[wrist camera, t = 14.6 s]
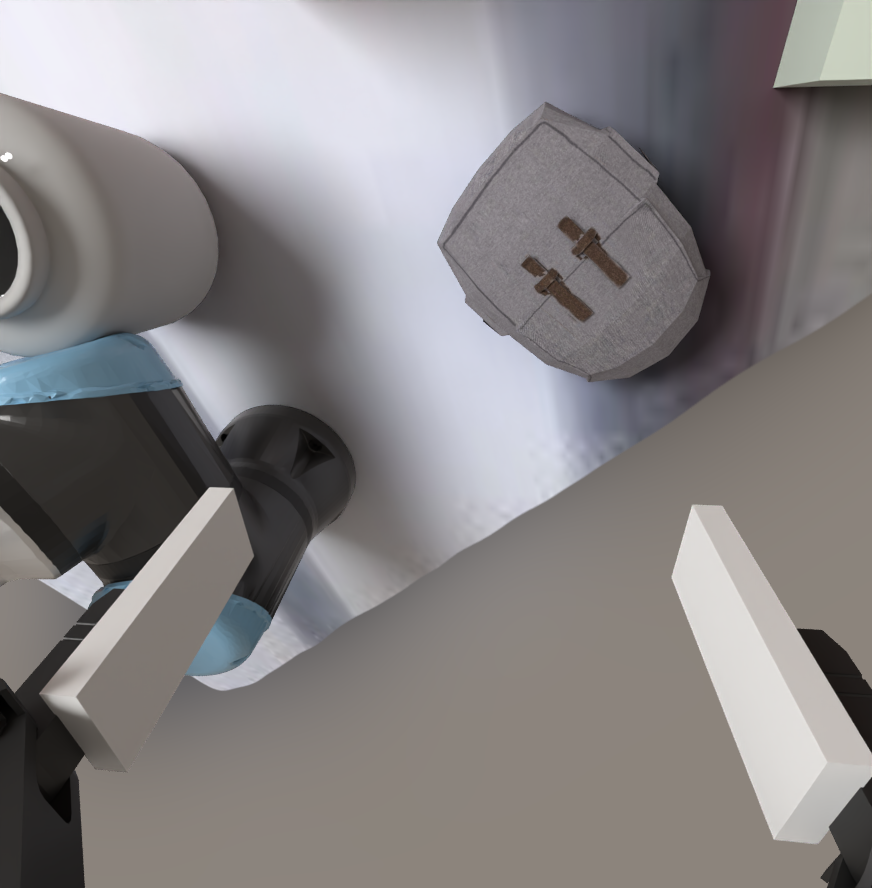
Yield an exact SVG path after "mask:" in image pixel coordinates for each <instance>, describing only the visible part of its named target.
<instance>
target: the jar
mask: <svg viewBox="0 0 872 888" xmlns="http://www.w3.org/2000/svg"><path fill="white" fill-rule="evenodd" d="M218 256H219V253H218V236H217V231H216V227H215V223H214V218H213V216H212V213H211V211H210V208H209V206H208V203H207V201H206V199H205V197H204V195H203V194H202V192H201V190H200V189H199V187H198V185H197V184H196V182H195V181H194V179H193V178H192V177H191V176H190V175H189V174H188V172H187V171H186V170H185V169H184V168H183V167H182V165H181V164H180V163H178V162H177V161H176V160H175V159H174V158H172V157H171V156H170V155H169V154H168V153H166V152H165V151H164V150H162V149H160V148H159V147H157V146H155V145H153V144H152V143H150V142H148V141H146V140H145V139H143V138H141V137H139V136H136V135H133V134H130V133H127V132H124V131H121V130H118V129H115V128H112V127H109V126H105V125H102V124H99V123H96V122H92V121H89V120H86V119H83V118H80V117H76V116H73V115H70V114H67V113H63V112H60V111H57V110H54V109H50V108H47V107H44V106H41V105H37V104H34V103H31V102H28V101H25V100H21V99H18V98H15V97H12V96H8V95H5V94H2V93H0V351H1V352H4V353H7V354H10V355H14V356H22V357H34V356H38V355H43V354H47V353H50V352H54V351H58V350H62V349H65V348H69V347H73V346H76V345H80V344H84V343H87V342H91V341H94V340H97V339H100V338H103V337H106V336H109V335H113V334H116V333H132V334H138V333H141V332H144V331H148V330H151V329H154V328H157V327H161V326H164V325H167V324H170V323H174V322H175V321H177V320H179V319H180V318H182V317H184V316H185V315H187V314H189V313H191V312H192V311H193V310H194V309H195V308H196V307H197V306H198V305H199V304H200V303H201V302H202V301H203V299H204V298H205V296H206V295H207V293H208V292H209V290H210V288H211V286H212V283H213V280H214V277H215V275H216V270H217V263H218Z"/></svg>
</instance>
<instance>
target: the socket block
mask: <svg viewBox="0 0 872 888" xmlns="http://www.w3.org/2000/svg"><path fill="white" fill-rule="evenodd" d="M860 85H872V0H798V1H797V5H796V8H795V12H794V15H793V19H792V23H791V26H790V30H789V33H788V37H787V41H786V44H785V48H784V51H783V55H782V59H781V62H780V66H779V69H778V73H777V77H776V80H775V84H774V87H773V88H784V87H822V86H860Z"/></svg>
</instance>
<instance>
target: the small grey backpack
mask: <svg viewBox="0 0 872 888" xmlns="http://www.w3.org/2000/svg"><path fill="white" fill-rule="evenodd" d="M639 149H640V148H639ZM640 150H641V149H640ZM641 152H642V153H643V155H644V157H645V158H646V160H647V161H648V162H647V161H646V160H645V159H644V158H643V157H642V156H641V155H640V154H639V153H638V152H637V151H636V150H635V149H634V148H633V147H632V146H631V145H630V144H629V143H628V142H627V141H626V140H625V139H624V138H622V137H621V136H620V135H619V134H618V133H617V132H616V131H615V130H614V129H612V128H611V127H607V128H604V129H601V130H599V129H597V128H595V127H593V126H591V125H589V124H587V123H585V122H583V121H581V120H579V119H578V118H576V117H574V116H572V115H570V114H568V113H566V112H564V111H562V110H560V109H558V108H556V107H554V106H553V105H551V104H549V103H547V102H545V103H544V104H542V105H541V106H540V107H539V108H538V109H537V110H535V111H534V112H533V113H532V114H531V115H530V116H528V117H527V118H526V119H525V120H524V121H522V122H521V123H520V124H519V125H518V126H517V127H515V128H514V129H513V130H512V131H511V132H510V133H509V134H508V135H507V137H506V138H505V139H504V140H503V141H502V142H501V144H500V145H499V146H498V147H497V148H496V149H495V151H494V152H493V153H492V154H491V155H490V156H489V158H488V159H487V160H486V161H485V162H484V163H483V165H482V166H481V167H480V168H479V169H478V171H477V172H476V174H475V175H474V177H473V178H472V180H471V181H470V183H469V184H468V186H467V187H466V189H465V190H464V192H463V193H462V195H461V196H460V198H459V199H458V201H457V202H456V204H455V205H454V207H453V208H452V211H451V213H450V215H449V217H448V219H447V221H446V224H445V226H444V228H443V230H442V232H441V235H440V237H439V239H438V241H437V244H438V246H439V248H440V250H441V251H442V253H443V255H444V257H445V259H446V260H447V262H448V264H449V266H450V267H451V269H452V271H453V273H454V275H455V276H456V278H457V280H458V282H459V283H460V285H461V287H462V289H463V291H464V292H465V294H466V298H465V303H466V304H467V305H469V306H470V307H471V308H472V309H473V310H474V311H475V312H476V313H477V314H478V315H479V316H480V317H481V318H482V319H483V322H485V323H486V324H487V325H488V326H489V327H491V328H492V329H493V330H494V331H496V332H497V333H498V334H499V335H501V336H506V335H510V336H511V337H512V338H514V339H515V340H516V341H518V342H519V343H520V344H521V345H523V346H524V347H525V348H526V349H528V350H529V351H530V352H531V353H533V354H534V355H535V356H536V357H538V358H539V359H540V360H542V361H543V362H544V363H545V364H547V365H550V366H553V367H556V368H559V369H561V370H564V371H567V372H570V373H573V374H576V375H578V376H581V377H584V378H586V380H587V382H594V381H603V380H611V379H620V378H629V377H631V376H633V375H635V374H637V373H638V372H640V371H642V370H644V369H646V368H647V367H649V366H651V365H653V364H655V363H656V362H658V361H660V360H662V359H664V358H665V357H667V356H669V354H670V353H671V352H672V351H673V350H674V348H675V347H676V346H677V345H678V344H679V342H680V341H681V340H682V339H683V338H684V337H685V335H686V334H687V333H688V332H689V331H690V329H691V328H692V327H693V326H694V325H695V323H696V322H697V321H698V318H699V315H700V311H701V307H702V304H703V300H704V296H705V293H706V289H707V285H708V282H709V278H710V270H708V269H705V267H704V264H703V261H702V258H701V255H700V252H699V249H698V246H697V243H696V240H695V237H694V234H693V231H692V228H691V226H690V225H689V224H688V223H687V222H686V220H685V219H684V218H683V217H682V215H681V214H680V213H679V212H678V210H677V209H676V208H675V207H674V205H673V204H672V203H671V202H670V200H669V199H668V198H667V197H666V195H665V194H664V193H663V192H662V190H661V189H660V188H659V187H658V185H657V181H658V177H659V172H658V171H657V169H656V168H655V167H654V165H653V164H652V163H651V162H650V160H649V159H648V158H647V156H646V155H645V154H644V152H643V151H642V150H641Z"/></svg>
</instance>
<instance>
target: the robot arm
mask: <svg viewBox="0 0 872 888" xmlns="http://www.w3.org/2000/svg"><path fill="white" fill-rule="evenodd" d="M182 386H183V384H182V382H181V381H180V380H179V379H176V378H175V376H174V375H173V374H172V372H171V371H170V369H169V368H168V367H167V365H166V364H165V362H164V361H163V360H162V358H161V357H160V355H159V354H158V352H157V351H156V350H155V348H154V347H153V346H152V344H151V343H149V342H148V341H147V340H146V339H144V338H143V337H141V336H138V335H136V334H132V333H116V334H113V335H109V336H106V337H103V338H100V339H97V340H94V341H91V342H87V343H84V344H80V345H76V346H73V347H69V348H65V349H62V350H58V351H54V352H50V353H47V354H43V355H38V356H34V357H24V358H21V359H17V360H14V361H10V362H7V363H4V364H0V587H1V586H2V585H4V584H5V583H7V582H9V581H13V580H18V579H57V578H58V577H60V576H61V575H63V574H64V573H66V572H67V571H69V570H70V569H71V568H73V567H74V566H76V565H77V564H78V563H80V562H81V561H84V562H85V563H86V564H87V565H88V566H89V567H90V568H91V569H92V571H93V572H94V573H95V574H96V575H97V576H98V578H99V579H100V580H101V581H102V582H103V585H104V587H101V588H100V589H99V590H98V591H96V592H95V593H94V595H93V596H92V602H91V603H90V605H89V607H88V610H87V611H86V612H85V613H84V614H83V615H82V617H81V618H80V619H79V620H78V621H77V624H76V626H73V627H72V628H71V629H70V630H69V631H68V633H67V634H66V635H65V636H64V639H63V641H60V642H59V643H58V644H57V645H56V646H55V647H54V649H53V650H52V651H51V652H50V653H49V654H48V656H47V657H46V658H45V659H44V660H43V661H42V663H41V664H40V665H39V666H38V667H37V668H36V669H35V671H34V672H33V673H32V674H31V675H30V676H29V677H28V679H27V680H26V681H25V682H24V683H23V684H22V686H21V687H20V688H19V689H18V690H17V691H16V692H15V693H14V692H13V691H12V690H11V689H10V687H9V686H8V685H7V683H6V682H5V681H4V680H3V679H1V678H0V888H85V883H84V865H83V848H82V831H81V813H80V796H79V780H78V777H77V774H76V771H75V768H76V767H77V765H78V763H79V762H80V761H81V759H82V758H83V756H84V755H85V756H86V758H87V759H88V760H89V762H90V763H91V764H92V766H93V767H94V768H95V769H98V770H108V771H117V772H128V771H129V769H130V767H131V766H132V764H133V762H134V761H135V759H136V757H137V756H138V754H139V752H140V750H141V748H142V747H143V745H144V743H145V741H146V740H147V738H148V737H149V735H150V733H151V732H152V730H153V728H154V726H155V725H156V723H157V721H158V720H159V718H160V716H161V714H162V713H163V711H164V709H165V708H166V706H167V704H168V702H169V701H170V699H171V697H172V695H173V694H174V692H175V690H176V689H177V687H178V685H179V684H180V682H181V680H182V678H183V677H184V675H189V676H208V675H216V674H221V673H224V672H227V671H230V670H232V669H234V668H236V667H238V666H239V665H241V664H242V663H243V662H244V661H245V660H246V659H247V658H248V657H249V656H250V655H251V653H252V651H253V650H254V648H255V646H256V645H257V643H258V641H259V640H260V638H261V636H262V635H263V633H264V632H265V631H266V630H267V629H268V628H269V626H270V624H271V621H272V619H273V617H274V615H275V613H276V610H277V608H278V606H279V604H280V602H281V600H282V598H283V596H284V594H285V592H286V590H287V588H288V586H289V583H290V581H291V579H292V577H293V575H294V573H295V571H296V569H297V567H298V565H299V563H300V561H301V559H302V556H303V554H304V552H305V550H306V548H307V546H308V544H309V543H310V541H311V540H312V539H313V538H314V537H315V536H316V535H318V534H319V533H320V532H321V531H322V530H323V529H324V528H325V527H326V526H328V525H329V524H331V523H332V522H333V521H335V520H336V519H337V518H338V517H339V516H340V515H341V514H342V512H343V511H344V509H345V508H346V506H347V504H348V502H349V500H350V497H351V495H352V493H353V490H354V487H355V478H356V475H355V467H354V463H353V460H352V457H351V455H350V453H349V451H348V449H347V447H346V446H345V444H344V443H343V441H342V440H341V439H340V438H339V436H338V435H337V434H336V433H335V432H334V431H333V430H332V429H331V428H329V427H328V426H327V425H326V424H324V423H323V422H322V421H320V420H319V419H317V418H315V417H314V416H312V415H310V414H308V413H305V412H303V411H300V410H298V409H294V408H291V407H286V406H279V405H264V406H258V407H254V408H251V409H248V410H246V411H244V412H242V413H240V414H239V415H238V416H236V417H235V418H234V419H233V420H232V421H231V422H230V423H229V424H228V425H227V426H226V427H225V428H224V429H223V430H222V432H221V433H220V434H219V436H218V438H217V440H216V442H215V440H214V439H213V437H212V435H211V434H210V432H209V431H208V429H207V428H206V426H205V424H204V423H203V421H202V419H201V418H200V416H199V414H198V413H197V411H196V409H195V408H194V406H193V405H192V403H191V401H190V400H189V398H188V396H187V395H186V393H185V391H184V390H183V388H182ZM672 580H673V583H674V585H675V588H676V590H677V593H678V595H679V598H680V601H681V603H682V606H683V608H684V611H685V613H686V616H687V618H688V621H689V624H690V626H691V629H692V631H693V634H694V636H695V639H696V642H697V644H698V646H699V649H700V652H701V654H702V657H703V660H704V662H705V665H706V667H707V670H708V672H709V675H710V677H711V680H712V683H713V685H714V688H715V690H716V693H717V695H718V698H719V701H720V703H721V706H722V708H723V711H724V713H725V716H726V718H727V721H728V723H729V726H730V728H731V731H732V734H733V736H734V739H735V741H736V744H737V746H738V749H739V752H740V754H741V757H742V759H743V762H744V764H745V767H746V770H747V772H748V775H749V777H750V780H751V782H752V785H753V787H754V790H755V793H756V795H757V797H758V800H759V803H760V805H761V808H762V811H763V813H764V816H765V818H766V821H767V823H768V826H769V828H770V831H771V834H772V836H773V839H774V840H782V841H791V842H801V843H810V844H818V843H819V842H820V840H821V839H822V838H823V837H824V836H825V835H826V833H827V832H828V831H829V830H830V831H831V833H832V835H833V837H834V839H835V842H836V844H837V846H838V848H839V850H840V852H841V853H840V855H839V856H838V857H837V858H836V859H835V860H834V861H833V863H832V864H831V865H830V866H829V867H828V869H826V871H825V872H824V874H823V875H822V876H821V879H823V880H824V881H825V882H826V883H828V882H829V883H828V886H827V888H872V689H871V688H870V686H869V685H868V683H867V682H866V680H863V679H862V674H861V673H860V671H859V670H858V668H857V667H856V665H855V664H854V662H853V661H852V660H851V658H850V656H849V655H848V653H847V652H846V651H845V650H844V649H843V648H842V647H841V646H840V645H838V644H837V643H836V642H835V641H834V640H833V639H832V638H830V637H829V636H828V635H827V634H826V633H825V632H824V631H822V630H813V629H796V627H795V626H794V624H793V622H792V621H791V619H790V617H789V616H788V614H787V613H786V611H785V609H784V607H783V606H782V604H781V602H780V601H779V599H778V598H777V596H776V594H775V592H774V591H773V589H772V587H771V586H770V584H769V583H768V581H767V579H766V578H765V576H764V574H763V573H762V571H761V569H760V568H759V566H758V564H757V563H756V561H755V560H754V558H753V556H752V554H751V553H750V551H749V550H748V548H747V546H746V544H745V543H744V541H743V540H742V538H741V536H740V535H739V533H738V531H737V530H736V528H735V526H734V525H733V523H732V521H731V520H730V518H729V516H728V515H727V513H726V511H725V510H724V508H723V506H716V505H692V508H691V511H690V515H689V518H688V522H687V525H686V529H685V532H684V536H683V539H682V543H681V546H680V550H679V553H678V557H677V560H676V563H675V567H674V570H673V574H672Z"/></svg>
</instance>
